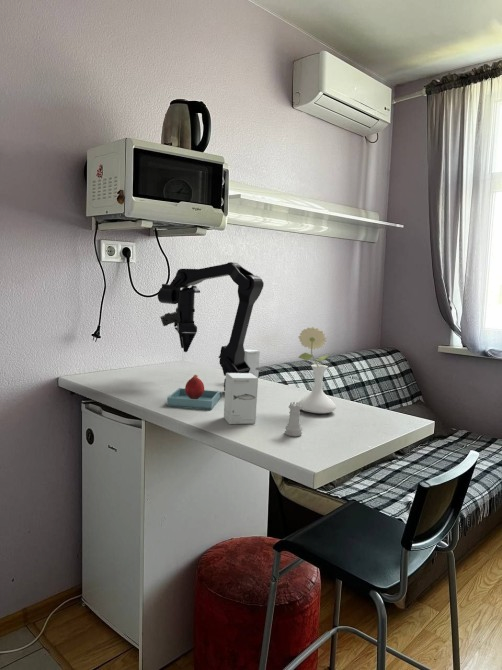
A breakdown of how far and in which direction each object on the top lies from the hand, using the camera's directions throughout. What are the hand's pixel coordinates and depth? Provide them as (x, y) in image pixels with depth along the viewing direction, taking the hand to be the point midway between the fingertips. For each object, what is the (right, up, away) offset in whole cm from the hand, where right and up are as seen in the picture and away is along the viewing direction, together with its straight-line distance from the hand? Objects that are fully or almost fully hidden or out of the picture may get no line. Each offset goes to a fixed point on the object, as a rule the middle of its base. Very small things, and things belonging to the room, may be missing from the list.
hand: (184, 349), depth 184 cm
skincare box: (+22, -13, +9) cm, 27 cm away
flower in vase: (+42, -18, -27) cm, 53 cm away
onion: (+6, -15, -24) cm, 29 cm away
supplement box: (+20, -18, -41) cm, 49 cm away
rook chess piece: (+34, -20, -51) cm, 64 cm away
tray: (+6, -15, -24) cm, 29 cm away
